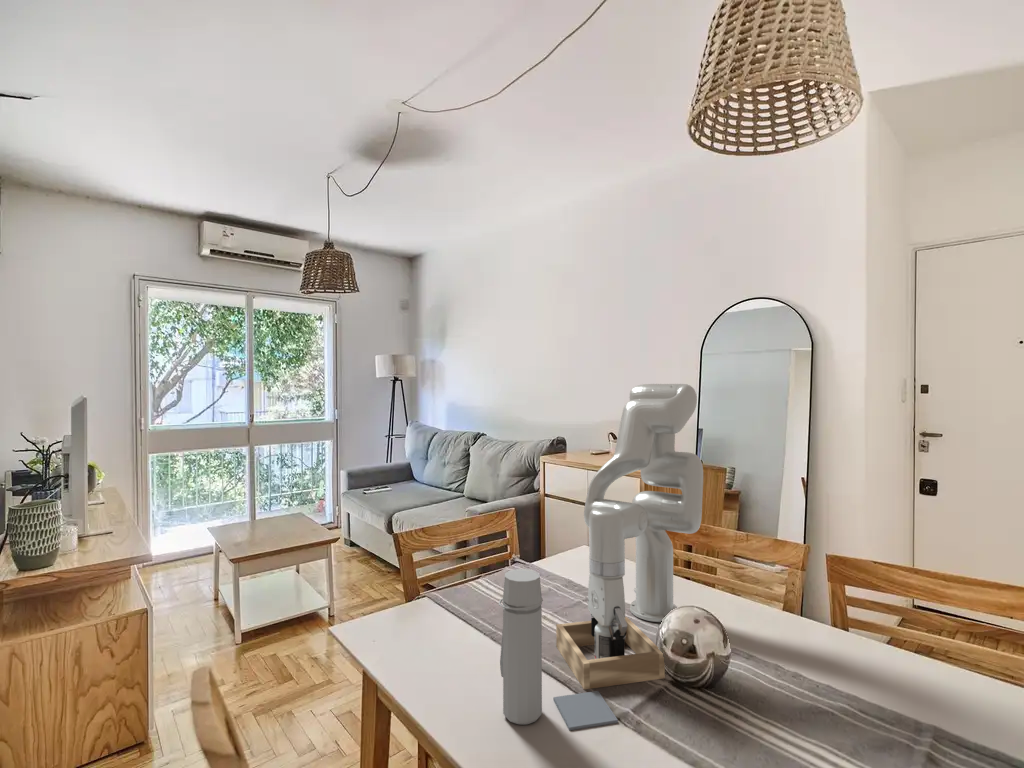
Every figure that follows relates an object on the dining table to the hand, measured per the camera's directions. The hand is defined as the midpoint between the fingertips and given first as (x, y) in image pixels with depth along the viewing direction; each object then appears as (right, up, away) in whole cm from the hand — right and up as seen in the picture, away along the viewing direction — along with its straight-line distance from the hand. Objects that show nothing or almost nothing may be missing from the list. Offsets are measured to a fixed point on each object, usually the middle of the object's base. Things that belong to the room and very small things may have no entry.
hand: (607, 645), depth 111 cm
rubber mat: (-7, -3, -17) cm, 19 cm away
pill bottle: (0, -4, 0) cm, 4 cm away
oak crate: (0, -3, 0) cm, 3 cm away
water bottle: (-19, -3, -17) cm, 26 cm away
